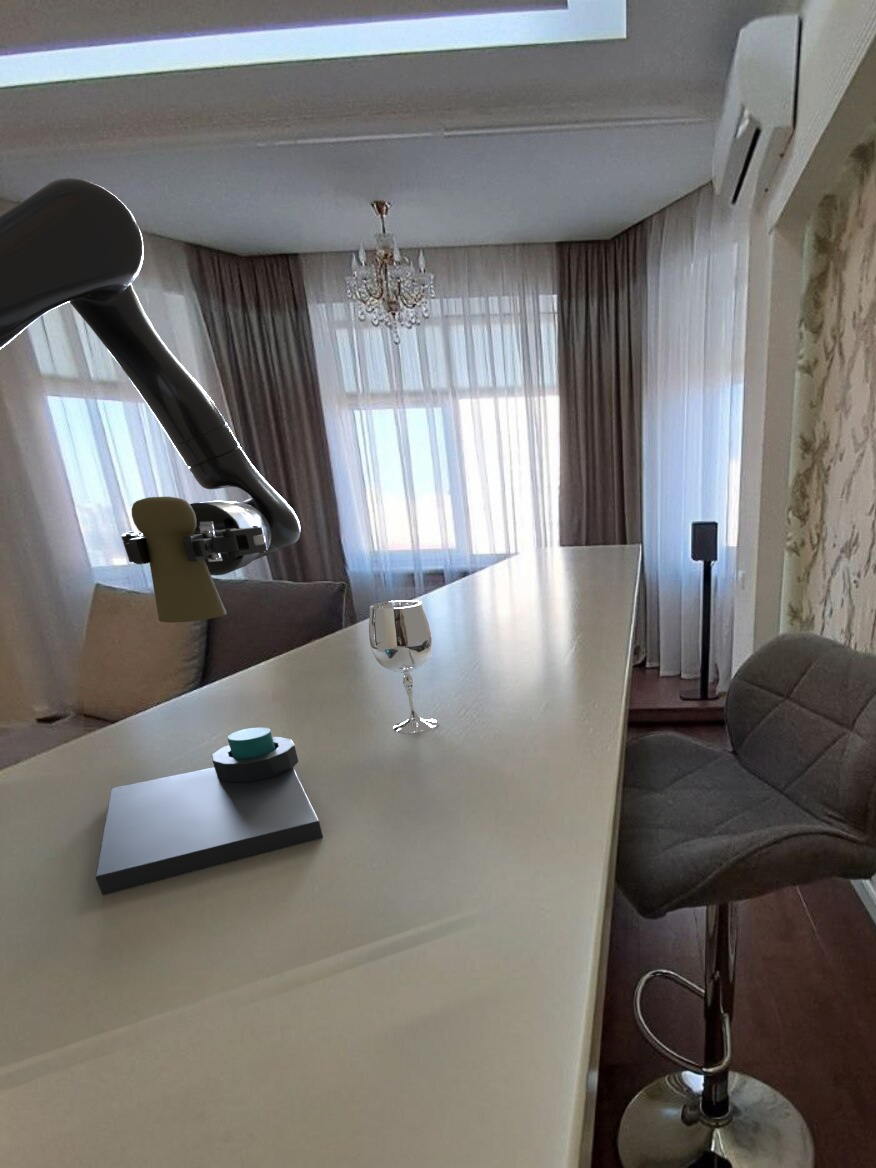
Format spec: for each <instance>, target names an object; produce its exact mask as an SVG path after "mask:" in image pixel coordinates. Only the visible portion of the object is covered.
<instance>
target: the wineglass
mask: <svg viewBox="0 0 876 1168" xmlns="http://www.w3.org/2000/svg"><path fill="white" fill-rule="evenodd" d="M368 615H369V617H368V618H369V619H368V635H369V645H370V648H371V651H372V654H373V657H374V659H375V660H376V661H377V663H379V665H380V666H381V667H383V668H385V669H387V670H388V671H391V672H392V671H393V672H396V673H401V674H403V678H402V684H403V687H404V689H405V691H406V694H407V697H408V703H409V708H410V709H409V710H410V713H409V717H408V719H405V720H402V721H399V722H397V723H396V724H395V725H393V726H392V731H394V732H396V733H399V734H417V733H423V732H426V731H430V730H432V729H434V728H437V727H438V725H439V723H438V721H437V719H433V718H426V717H421V716H419V714H418V713H417V710H416V706H415V700H414V686H415V681H414V678H413V676H412V675H411V672H412V673H413V672H414V671H416V670H419V669H421V668H422V667H423V666H425V665H426V664H428V662H429V661H430V659H431V657H432V654H433V649H434V641H433V640H434V639H433V633H432V629H431V626H430V623H429V620H428V616H427V614H426V611H425V608H424V606H423V604H422V601H419V600H391V601H385V602H379V603H373V604H372V605H370V606H369V614H368Z"/></svg>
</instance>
